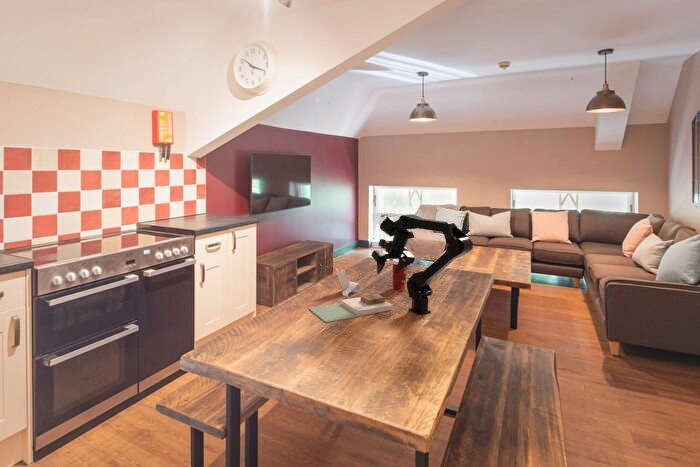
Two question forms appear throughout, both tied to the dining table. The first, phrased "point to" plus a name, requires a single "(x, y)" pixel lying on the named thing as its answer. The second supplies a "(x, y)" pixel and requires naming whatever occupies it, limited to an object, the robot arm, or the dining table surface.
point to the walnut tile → (372, 299)
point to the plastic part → (347, 283)
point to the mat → (333, 312)
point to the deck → (365, 306)
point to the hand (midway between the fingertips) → (386, 273)
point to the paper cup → (399, 277)
